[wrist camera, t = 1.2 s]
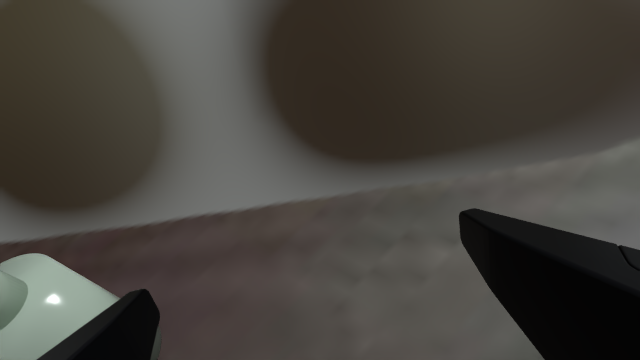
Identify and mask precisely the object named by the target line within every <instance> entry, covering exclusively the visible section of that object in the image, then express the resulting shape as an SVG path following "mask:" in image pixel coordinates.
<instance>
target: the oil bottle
mask: <svg viewBox="0 0 640 360" xmlns="http://www.w3.org/2000/svg"><path fill="white" fill-rule="evenodd" d="M119 299H120V298H118V297H117V296H115V295H113V294H112V293H110V292H108V291H106V290H105V289H103V288H101V287H100V286H98V285H96V284H95V283H93V282H91V281H89V280H88V279H86V278H84V277H83V276H81V275H79V274H77V273H76V272H74V271H72V270H71V269H69V268H67V267H65V266H64V265H62V264H60V263H59V262H57V261H55V260H54V259H52V258H50V257H48V256H46V255H43V254H36V253H34V254H25V255H21V256H17V257H14V258H12V259H9V260H7V261H5V262H3V263H1V264H0V360H36V359H38V358H39V357H41V356H42V355H43V354H45V353H46V352H48V351H49V350H50V349H52V348H53V347H54V346H56V345H57V344H59V343H60V342H61V341H63V340H64V339H65V338H67V337H68V336H70V335H71V334H72V333H74V332H75V331H77V330H78V329H79V328H81V327H82V326H83V325H85V324H86V323H88V322H89V321H90V320H92V319H93V318H94V317H96V316H97V315H99V314H100V313H101V312H103V311H104V310H106V309H107V308H108V307H110V306H111V305H112V304H114V303H115V302H117V301H118V300H119ZM160 348H161V331H160V328H159V325H158V329H157V333H156V338H155V342H154V346H153V351H152V355H151V360H157V359H158V356H159V353H160Z"/></svg>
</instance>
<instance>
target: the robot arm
mask: <svg viewBox="0 0 640 360" xmlns="http://www.w3.org/2000/svg"><path fill="white" fill-rule="evenodd" d="M459 224H460V237H461V241H462V244H463V246H464V247H465V249H466V251H467V252H468V254H469V255H470V257H471V259H472V260H473V262H474V264H475V265H476V267H477V269H478V270H479V272H480V273H481V275H482V277H483V278H484V280H485V282H486V283H487V285H488V286H489V288H490V289H491V291H492V292H493V293H494V295H495V296H496V297H497V299H498V300H499V301H500V303H501V304H502V305H503V306H504V308H505V309H506V310H507V312H508V313H509V314H510V316H511V317H512V318H513V319H514V321H515V322H516V323H517V325H518V326H519V327H520V328H521V330H522V331H523V332H524V334H525V335H526V336H527V337H528V339H529V340H530V341H531V343H532V344H533V345H534V346H535V348H536V349H537V350H538V352H539V353H540V354H541V355H542V357H543V358H544V359H545V360H640V250H637V249H634V248H630V247H626V246H622V245H620V246H617V245H616V244H614V243H610V242H606V241H602V240H598V239H594V238H590V237H586V236H582V235H578V234H574V233H570V232H566V231H562V230H558V229H555V228H551V227H547V226H543V225H539V224H535V223H531V222H527V221H523V220H519V219H515V218H511V217H507V216H503V215H499V214H495V213H492V212H488V211H484V210H480V209H476V208H473V209H468V210H464V211H461V212H460V214H459ZM159 320H160V313H159V310H158V308H157V306H156V304H155V302H154V300H153V298H152V296H151V295H150V293H149V291H148V290H146V289H139V290H135V291H131V292H129V293H128V294H126V295H125V296H123V297H122V298H121V299H119V300H118V301H117V302H115V303H114V304H112V305H111V306H110V307H108V308H107V309H106V310H104V311H103V312H101V313H100V314H99V315H97V316H96V317H94V318H93V319H92V320H90V321H89V322H88V323H86V324H85V325H83V326H82V327H81V328H79V329H78V330H77V331H75V332H74V333H72V334H71V335H70V336H68V337H67V338H65V339H64V340H63V341H61V342H60V343H59V344H57V345H56V346H54V347H53V348H52V349H50V350H49V351H48V352H46V353H45V354H43V355H42V356H41V357H39V358H38V359H36V360H151V355H152V351H153V346H154V342H155V338H156V333H157V329H158V324H159Z"/></svg>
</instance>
